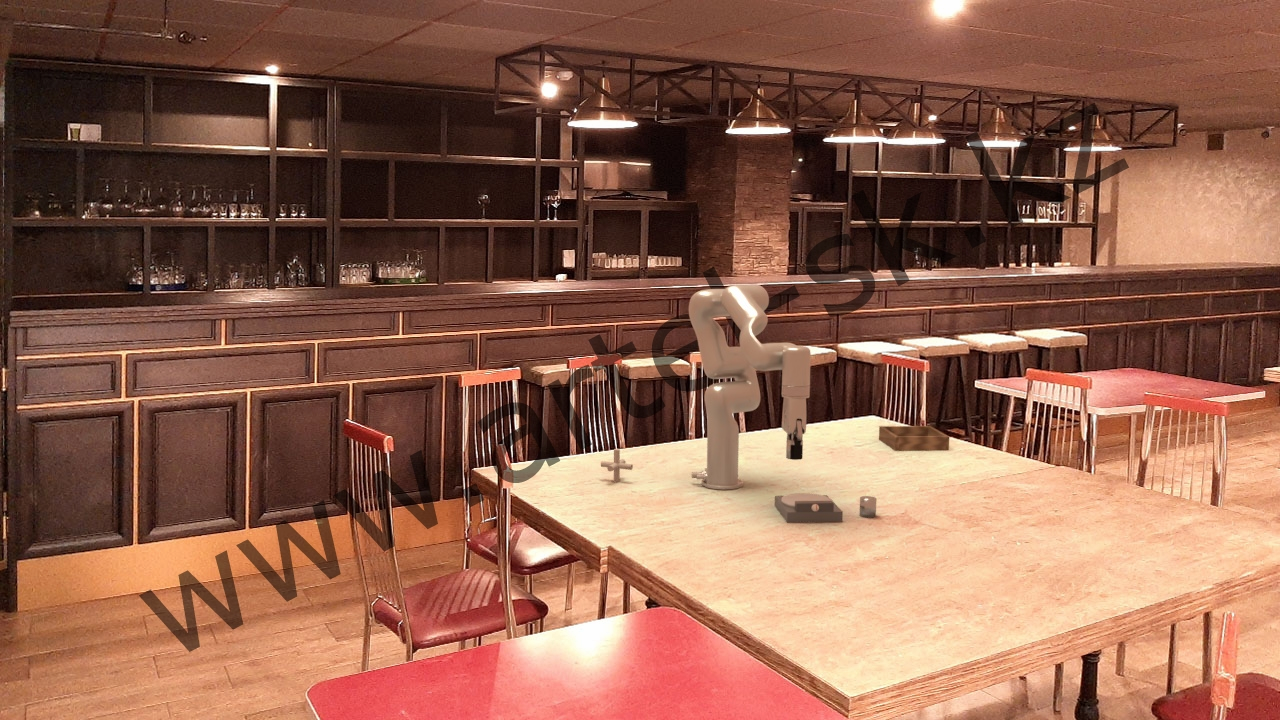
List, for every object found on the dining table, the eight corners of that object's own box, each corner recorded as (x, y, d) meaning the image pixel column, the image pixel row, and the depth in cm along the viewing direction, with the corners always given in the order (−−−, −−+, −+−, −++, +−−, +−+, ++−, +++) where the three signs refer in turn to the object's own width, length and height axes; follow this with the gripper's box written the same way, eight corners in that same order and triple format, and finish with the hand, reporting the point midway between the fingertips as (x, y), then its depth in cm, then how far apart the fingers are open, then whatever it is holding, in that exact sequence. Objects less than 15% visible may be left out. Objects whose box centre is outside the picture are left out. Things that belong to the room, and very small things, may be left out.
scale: (787, 522, 274) (787, 503, 274) (774, 505, 292) (774, 487, 291) (842, 522, 276) (843, 503, 275) (826, 504, 293) (827, 486, 292)
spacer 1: (788, 459, 280) (788, 441, 279) (784, 456, 284) (785, 438, 284) (804, 459, 280) (804, 441, 280) (800, 456, 285) (800, 438, 284)
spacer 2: (861, 518, 279) (862, 500, 279) (857, 513, 284) (858, 496, 283) (877, 518, 280) (878, 500, 279) (873, 513, 284) (873, 495, 283)
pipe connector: (595, 483, 315) (595, 451, 314) (608, 476, 324) (608, 445, 323) (625, 486, 311) (625, 454, 310) (637, 479, 320) (637, 447, 319)
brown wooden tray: (895, 450, 363) (895, 437, 363) (878, 439, 383) (879, 426, 382) (948, 450, 365) (949, 436, 364) (929, 439, 384) (930, 426, 383)
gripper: (775, 386, 288) (774, 450, 290) (788, 396, 271) (787, 464, 274) (802, 386, 288) (800, 450, 291) (816, 396, 272) (814, 464, 274)
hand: (794, 456), depth 282 cm, fingers closed on spacer 1, 4 cm apart
